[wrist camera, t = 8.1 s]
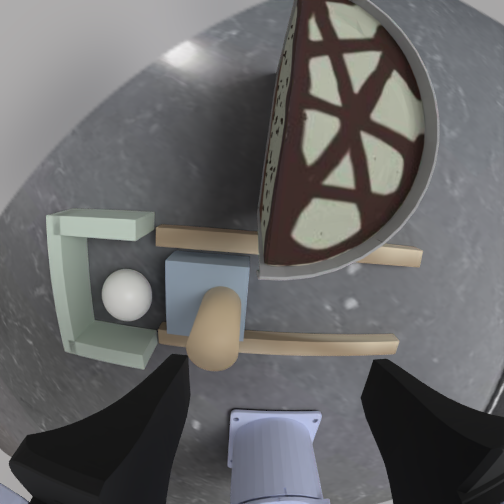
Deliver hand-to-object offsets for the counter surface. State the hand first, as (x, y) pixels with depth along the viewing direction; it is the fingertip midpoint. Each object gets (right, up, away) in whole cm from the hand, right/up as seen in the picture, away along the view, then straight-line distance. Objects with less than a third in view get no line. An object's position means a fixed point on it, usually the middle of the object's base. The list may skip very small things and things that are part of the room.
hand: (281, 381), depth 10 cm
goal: (-11, +3, +10) cm, 15 cm away
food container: (+3, +12, +8) cm, 14 cm away
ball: (-9, +2, +8) cm, 13 cm away
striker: (-3, +2, +10) cm, 10 cm away
